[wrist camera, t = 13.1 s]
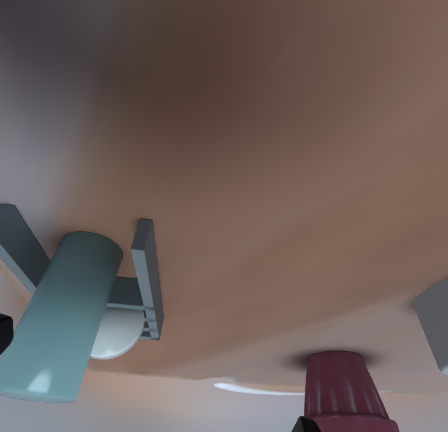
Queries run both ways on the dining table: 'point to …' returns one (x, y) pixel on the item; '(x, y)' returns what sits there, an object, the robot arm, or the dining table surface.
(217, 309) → the dining table surface
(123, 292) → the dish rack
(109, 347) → the white half-round piece
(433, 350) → the lumpy-topped squat cylinder
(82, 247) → the aqua tapered cylinder
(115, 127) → the dining table surface
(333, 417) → the plant pot
